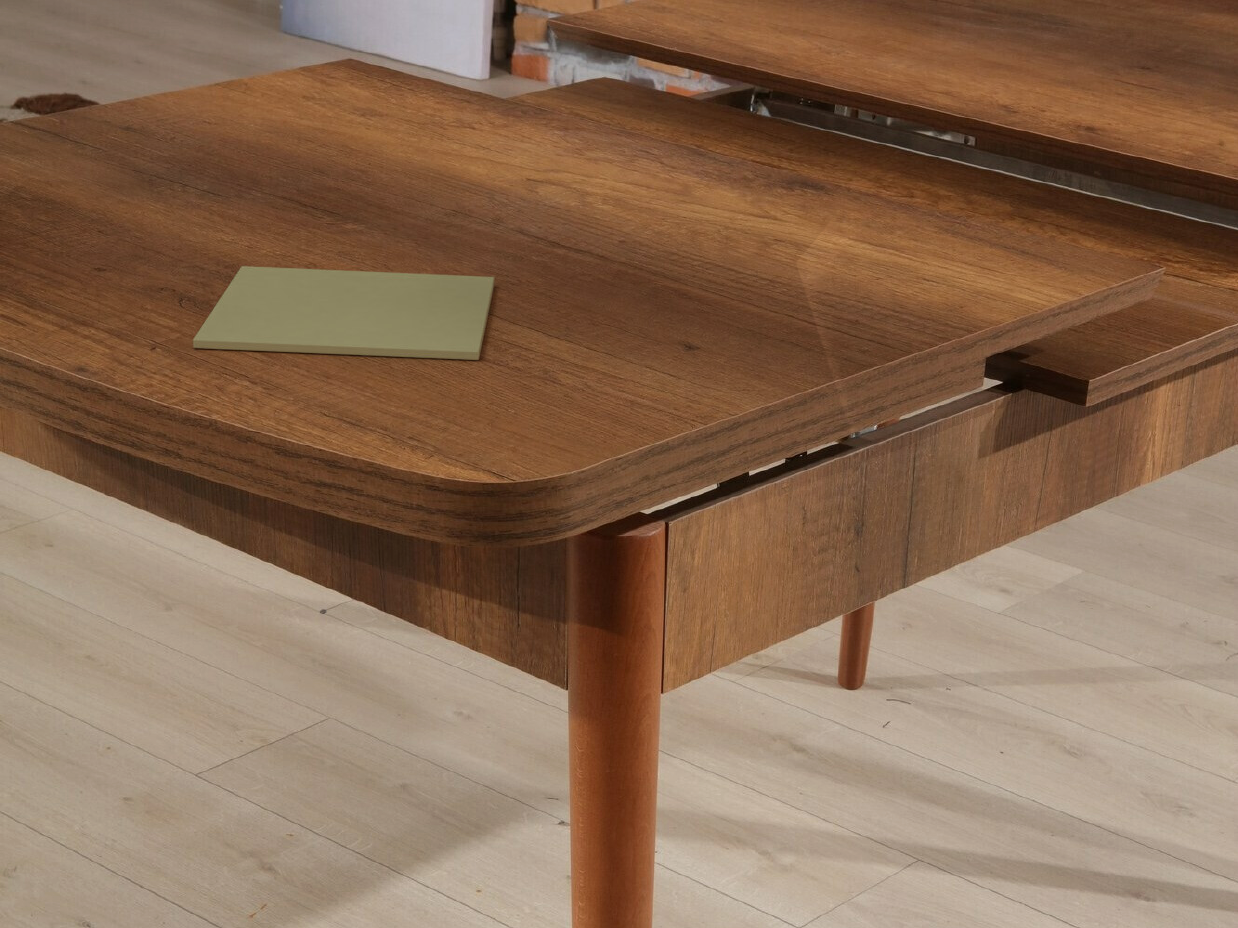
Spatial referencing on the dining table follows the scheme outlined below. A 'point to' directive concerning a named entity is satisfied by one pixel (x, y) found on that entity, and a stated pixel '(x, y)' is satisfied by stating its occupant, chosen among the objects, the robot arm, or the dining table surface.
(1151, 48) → the dining table surface
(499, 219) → the dining table surface
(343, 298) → the coaster mat
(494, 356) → the dining table surface
